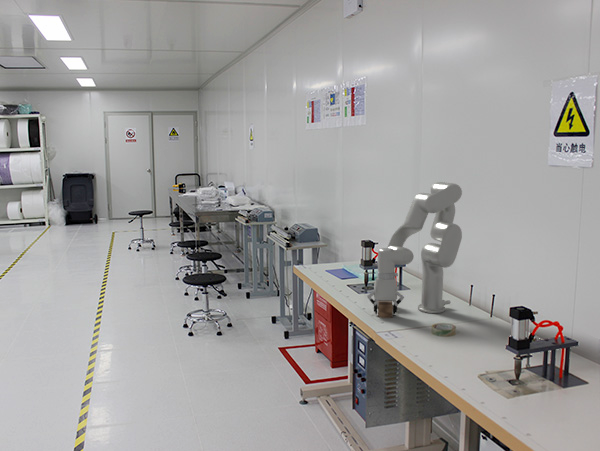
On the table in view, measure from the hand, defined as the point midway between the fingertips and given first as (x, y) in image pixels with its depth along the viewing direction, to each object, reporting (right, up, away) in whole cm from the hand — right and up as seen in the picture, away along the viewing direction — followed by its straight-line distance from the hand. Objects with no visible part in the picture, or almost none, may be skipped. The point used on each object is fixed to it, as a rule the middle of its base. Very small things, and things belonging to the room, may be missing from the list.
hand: (385, 313), depth 244 cm
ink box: (+1, +1, +15) cm, 15 cm away
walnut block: (0, -1, 0) cm, 1 cm away
